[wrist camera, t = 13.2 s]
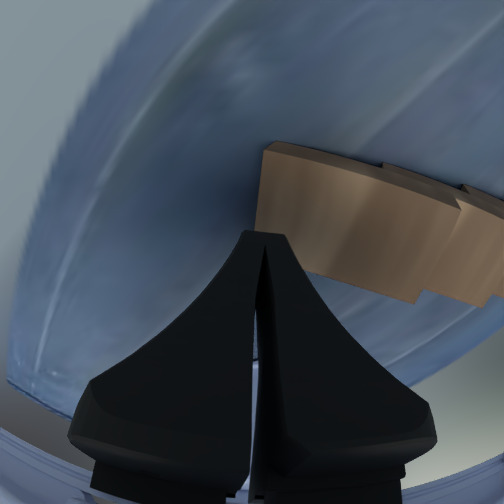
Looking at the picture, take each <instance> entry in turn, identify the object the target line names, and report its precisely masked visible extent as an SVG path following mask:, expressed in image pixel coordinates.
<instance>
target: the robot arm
mask: <svg viewBox="0 0 504 504" xmlns="http://www.w3.org/2000/svg"><path fill="white" fill-rule="evenodd" d="M255 310H256V320H257V346H258V361H254V362H253V343H254V316H255ZM67 436H68V439H69V441H70V443H71V444H72V445H74V446H75V447H76V448H78V449H79V450H81V451H82V452H83V453H85V454H86V455H88V456H90V457H91V458H93V459H94V460H96V462H95V466H94V470H93V472H91V471H88V470H86V469H83V468H80V467H78V466H76V465H73V464H71V463H68V462H66V461H64V460H61V459H59V458H57V457H55V456H53V455H50V454H48V453H46V452H44V451H42V450H40V449H38V448H36V447H34V446H32V445H30V444H28V443H27V442H25V441H23V440H21V439H19V438H18V437H16V436H14V435H12V434H11V433H9V432H7V431H6V430H4V429H2V428H1V427H0V504H97V503H96V502H95V501H94V498H93V496H92V495H95V496H98V497H100V498H103V499H106V500H109V501H112V502H115V503H118V504H504V453H502V454H500V455H498V456H496V457H494V458H492V459H490V460H487V461H485V462H483V463H481V464H478V465H476V466H474V467H471V468H469V469H466V470H464V471H461V472H459V473H456V474H453V475H450V476H447V477H445V478H441V479H438V480H435V481H432V482H429V483H425V484H422V485H419V486H415V487H411V488H407V489H403V490H401V482H400V479H402V478H404V477H405V475H406V472H405V464H406V463H408V462H410V461H412V460H414V459H416V458H417V457H419V456H421V455H423V454H425V453H426V452H428V451H429V450H430V449H432V448H433V447H434V446H435V444H436V443H437V435H436V430H435V425H434V420H433V416H432V413H431V409H430V407H429V404H428V402H427V401H425V400H424V399H423V398H421V397H420V396H419V395H417V394H416V393H415V392H413V391H412V390H411V389H409V388H408V387H407V386H405V385H404V384H403V383H401V382H400V381H399V380H398V379H396V378H395V377H394V376H393V375H392V374H390V373H389V372H388V371H387V370H386V369H385V368H384V367H382V366H381V365H380V364H379V363H378V362H377V361H376V360H375V359H374V358H373V357H372V356H371V355H370V354H369V353H368V352H367V351H366V350H365V349H364V348H363V347H362V346H361V345H360V344H359V343H358V342H357V341H356V340H355V339H354V338H353V337H352V336H351V335H350V334H349V333H348V332H347V330H346V329H345V328H344V327H343V326H342V325H341V323H340V322H339V321H338V320H337V318H336V317H335V316H334V315H333V313H332V312H331V311H330V310H329V308H328V307H327V305H326V304H325V303H324V301H323V300H322V298H321V297H320V295H319V294H318V293H317V291H316V290H315V288H314V287H313V285H312V283H311V282H310V280H309V279H308V277H307V275H306V274H305V272H304V270H303V269H302V267H301V265H300V263H299V261H298V260H297V258H296V256H295V254H294V252H293V250H292V248H291V246H290V244H289V242H288V239H287V237H286V236H285V235H284V234H278V233H269V232H259V231H249V230H245V231H243V232H242V233H241V236H240V238H239V240H238V242H237V244H236V246H235V248H234V249H233V251H232V253H231V254H230V256H229V257H228V259H227V260H226V262H225V263H224V265H223V266H222V268H221V269H220V270H219V272H218V273H217V274H216V276H215V277H214V278H213V279H212V281H211V282H210V283H209V284H208V286H207V287H206V288H205V289H204V290H203V291H202V293H201V294H200V295H199V296H198V297H197V298H196V299H195V300H194V301H193V302H192V303H191V304H190V305H189V307H188V308H187V309H186V310H185V311H184V312H182V313H181V314H180V315H179V316H178V317H177V318H176V319H175V320H174V321H173V322H172V323H171V324H169V325H168V326H167V327H166V328H165V329H164V330H163V331H161V332H160V333H159V334H158V335H156V336H155V337H154V338H152V339H151V340H150V341H149V342H147V343H146V344H145V345H143V346H142V347H141V348H139V349H138V350H137V351H135V352H134V353H133V354H131V355H130V356H128V357H127V358H125V359H124V360H122V361H121V362H119V363H118V364H116V365H114V366H113V367H111V368H110V369H108V370H106V371H105V372H103V373H102V374H100V375H98V376H97V377H95V378H93V379H92V380H90V381H89V383H88V385H87V387H86V389H85V391H84V393H83V395H82V396H81V398H80V400H79V402H78V405H77V407H76V410H75V413H74V416H73V419H72V422H71V425H70V428H69V431H68V435H67ZM91 494H92V495H91Z"/></svg>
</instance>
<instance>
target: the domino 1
mask: <svg viewBox="0 0 504 504" xmlns="http://www.w3.org/2000/svg"><path fill="white" fill-rule="evenodd" d="M461 211H462V210H461V208H460V206H459V204H458V202H457V201H456V199H455V197H454V195H453V194H451V193H449V192H446V191H444V190H441V189H438V188H436V187H433V186H431V185H428V184H425V183H423V182H420V181H417V180H414V179H411V178H409V177H406V176H403V175H400V174H397V173H394V172H391V171H388V170H385V169H382V168H379V167H375V166H372V165H369V164H366V163H362V162H359V161H356V160H352V159H349V158H345V157H341V156H338V155H334V154H330V153H326V152H323V151H319V150H315V149H310V148H306V147H302V146H298V145H293V144H289V143H284V142H280V141H275V142H274V143H272V144H271V145H269V146H268V147H267V148H265V149H264V151H263V160H262V169H261V177H260V186H259V194H258V203H257V211H256V220H255V229H254V231H259V232H269V233H278V234H284V235H285V236H286V237H287V239H288V242H289V244H290V246H291V248H292V250H293V252H294V254H295V256H296V258H297V260H298V261H299V263H300V265H301V267H302V269H303V270H306V271H309V272H312V273H315V274H318V275H322V276H325V277H328V278H331V279H334V280H338V281H341V282H344V283H347V284H350V285H353V286H357V287H360V288H363V289H366V290H369V291H373V292H376V293H379V294H382V295H385V296H389V297H392V298H395V299H398V300H401V301H405V302H408V303H411V304H415V302H416V300H417V298H418V297H419V295H420V293H421V292H422V290H423V288H424V286H425V284H426V283H427V281H428V279H429V277H430V275H431V274H432V272H433V270H434V268H435V266H436V264H437V262H438V260H439V258H440V256H441V254H442V252H443V250H444V248H445V246H446V244H447V242H448V240H449V238H450V236H451V233H452V231H453V229H454V227H455V225H456V222H457V220H458V218H459V215H460V213H461Z"/></svg>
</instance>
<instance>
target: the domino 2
mask: <svg viewBox="0 0 504 504" xmlns="http://www.w3.org/2000/svg"><path fill="white" fill-rule="evenodd" d="M382 169H385V170H388V171H391V172H394V173H397V174H400V175H403V176H406V177H409V178H411V179H414V180H417V181H420V182H423V183H425V184H428V185H431V186H433V187H436V188H438V189H441V190H444V191H446V192H449V193H451V194H453V195H454V197H455V199H456V201H457V202H458V204H459V206H460V208H461V210H462V211H461V213H460V215H459V218H458V220H457V222H456V225H455V227H454V229H453V231H452V233H451V236H450V238H449V240H448V242H447V244H446V246H445V248H444V250H443V252H442V254H441V256H440V258H439V260H438V262H437V264H436V266H435V268H434V270H433V272H432V274H431V275H430V277H429V279H428V281H427V283H426V284H425V286H424V288H423V289H426V290H429V291H432V292H435V293H438V294H441V295H444V296H447V297H450V298H453V299H456V300H459V301H462V302H465V303H468V304H471V305H474V306H477V307H480V308H483V306H484V305H485V303H486V302H487V301H488V299H489V298H490V296H491V295H492V293H493V291H494V290H495V288H496V287H497V285H498V284H499V282H500V280H501V279H502V277H503V276H504V210H502V209H500V208H498V207H496V206H494V205H492V204H490V203H488V202H486V201H483V200H481V199H479V198H477V197H474V196H472V195H470V194H468V193H465V192H463V191H461V190H458V189H456V188H453V187H451V186H448V185H446V184H443V183H441V182H438V181H436V180H433V179H430V178H428V177H425V176H422V175H420V174H417V173H414V172H411V171H408V170H405V169H402V168H399V167H396V166H393V165H390V164H387V163H384V162H383V164H382Z"/></svg>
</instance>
